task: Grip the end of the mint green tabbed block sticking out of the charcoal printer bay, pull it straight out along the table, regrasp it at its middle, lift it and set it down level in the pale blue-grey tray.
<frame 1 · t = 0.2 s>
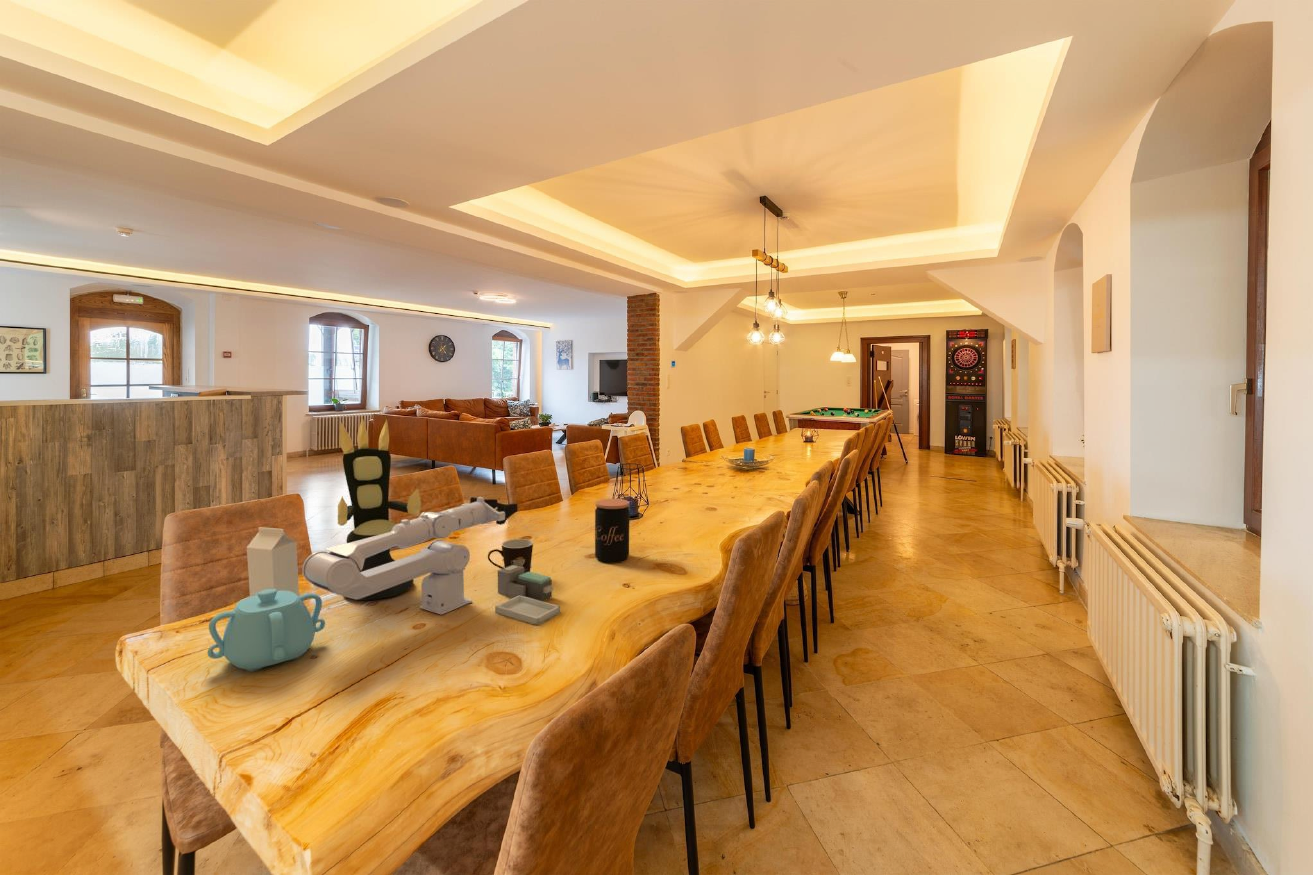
hand: (506, 505, 153), 21 cm above the table, tool horizontal, fingers open, 7 cm apart
printer bay: (524, 593, 146), on the table
coffee mug: (512, 578, 158), on the table
decorative pot: (271, 657, 112), on the table
black throne chair: (375, 588, 148), on the table
coffee jar: (612, 559, 176), on the table
milk carton: (275, 604, 137), on the table
tray: (527, 612, 134), on the table
mint green tabbed block: (534, 596, 144), on the table
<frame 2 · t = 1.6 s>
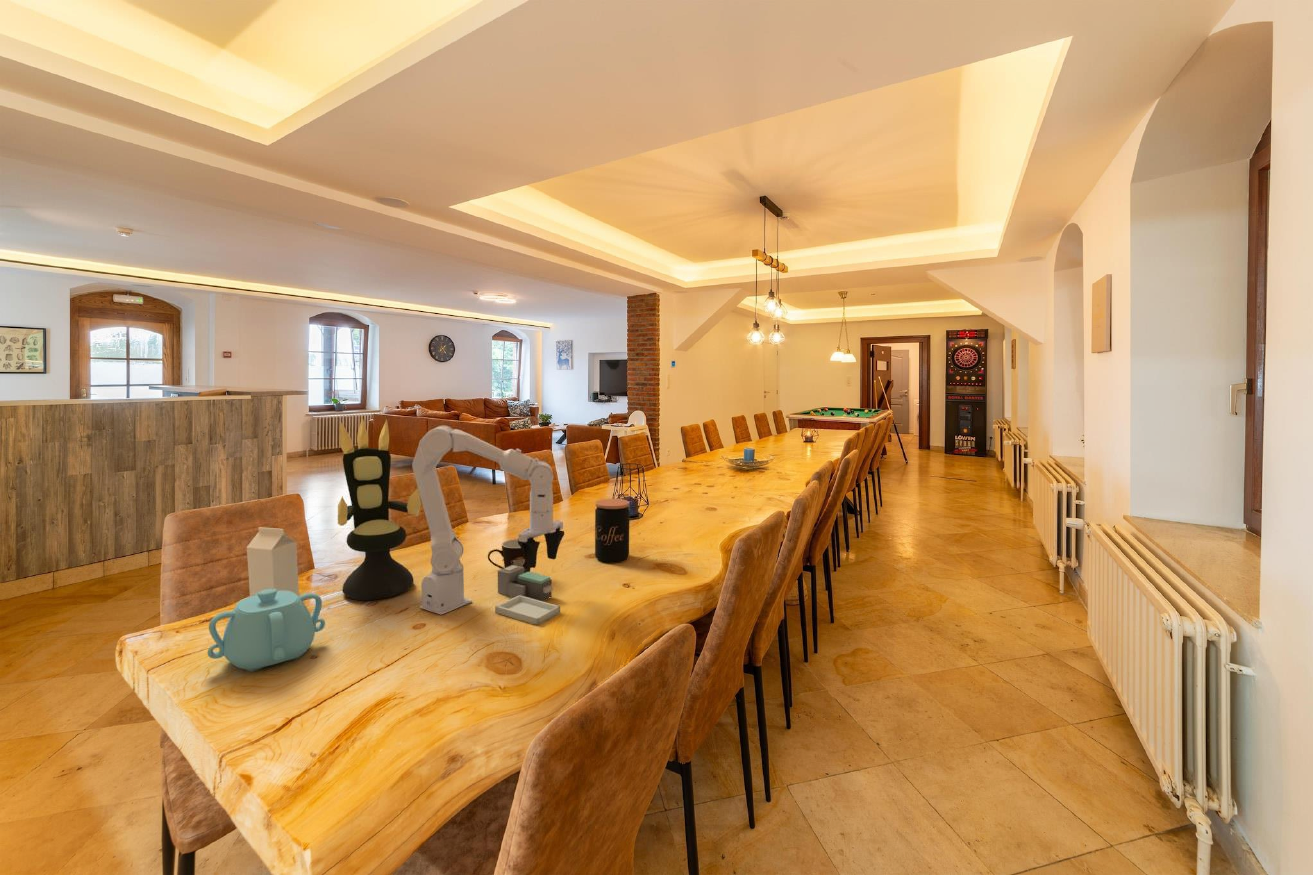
hand: (541, 562, 142), 9 cm above the table, tool pointing down, fingers open, 7 cm apart
nothing on the table moved.
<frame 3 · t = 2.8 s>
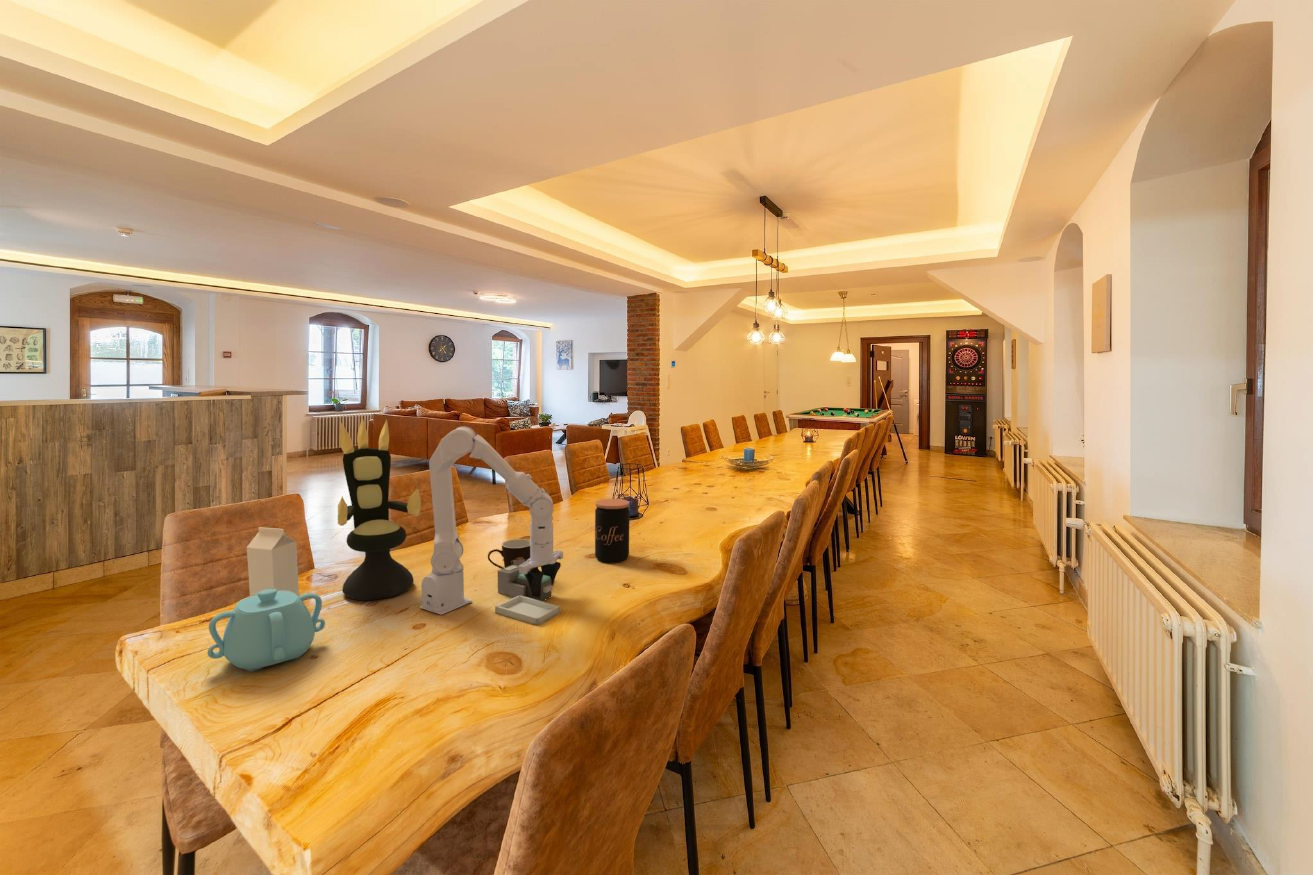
hand: (542, 593, 143), 1 cm above the table, tool pointing down, fingers closed on mint green tabbed block, 4 cm apart
mint green tabbed block: (534, 596, 144), on the table, touching gripper
everything else where it was.
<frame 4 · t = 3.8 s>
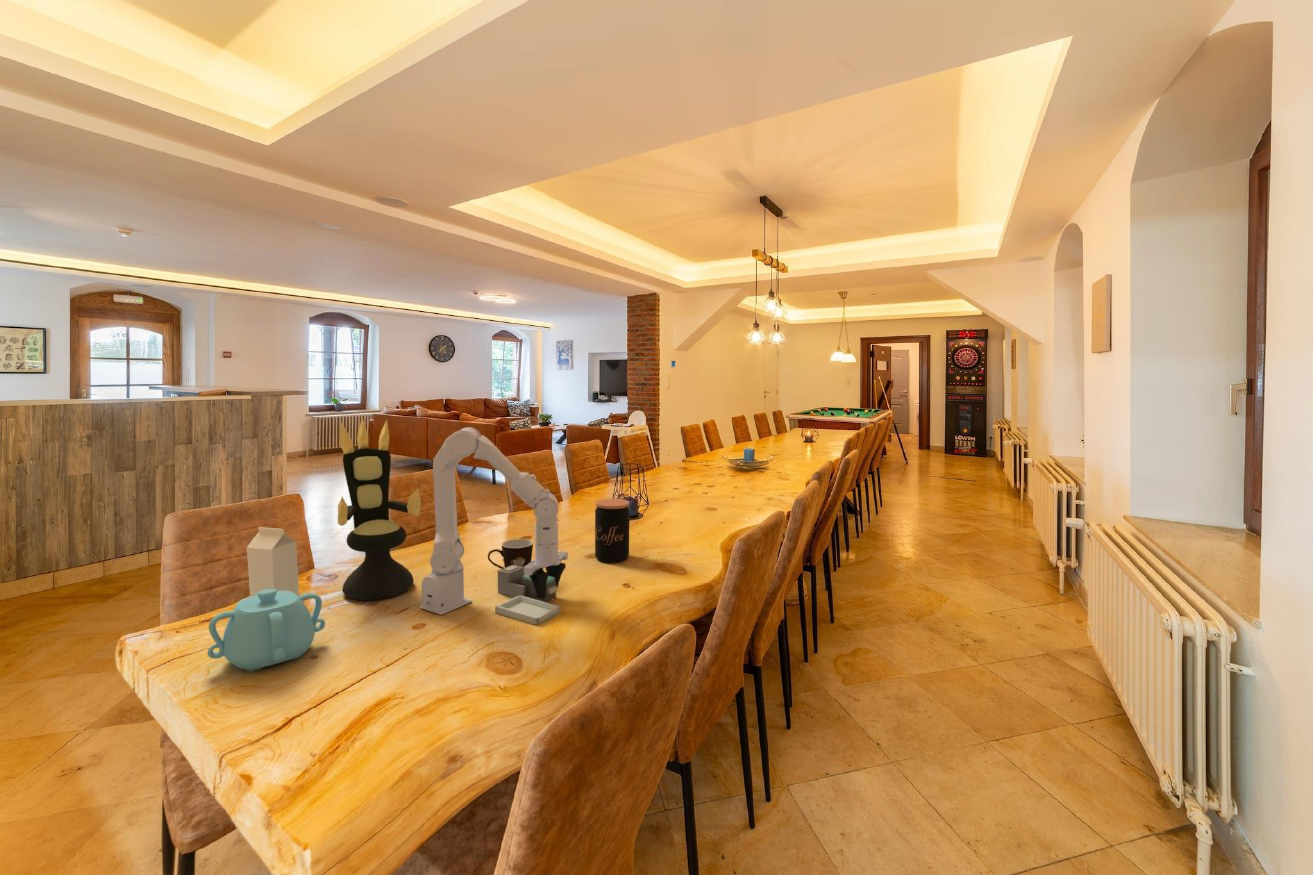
hand: (546, 594, 142), 1 cm above the table, tool pointing down, fingers closed on mint green tabbed block, 4 cm apart
mint green tabbed block: (538, 597, 144), on the table, touching gripper
everything else where it was.
when the fingers open (1 cm above the table, at t = 4.9 s): mint green tabbed block stays where it is, on the table.
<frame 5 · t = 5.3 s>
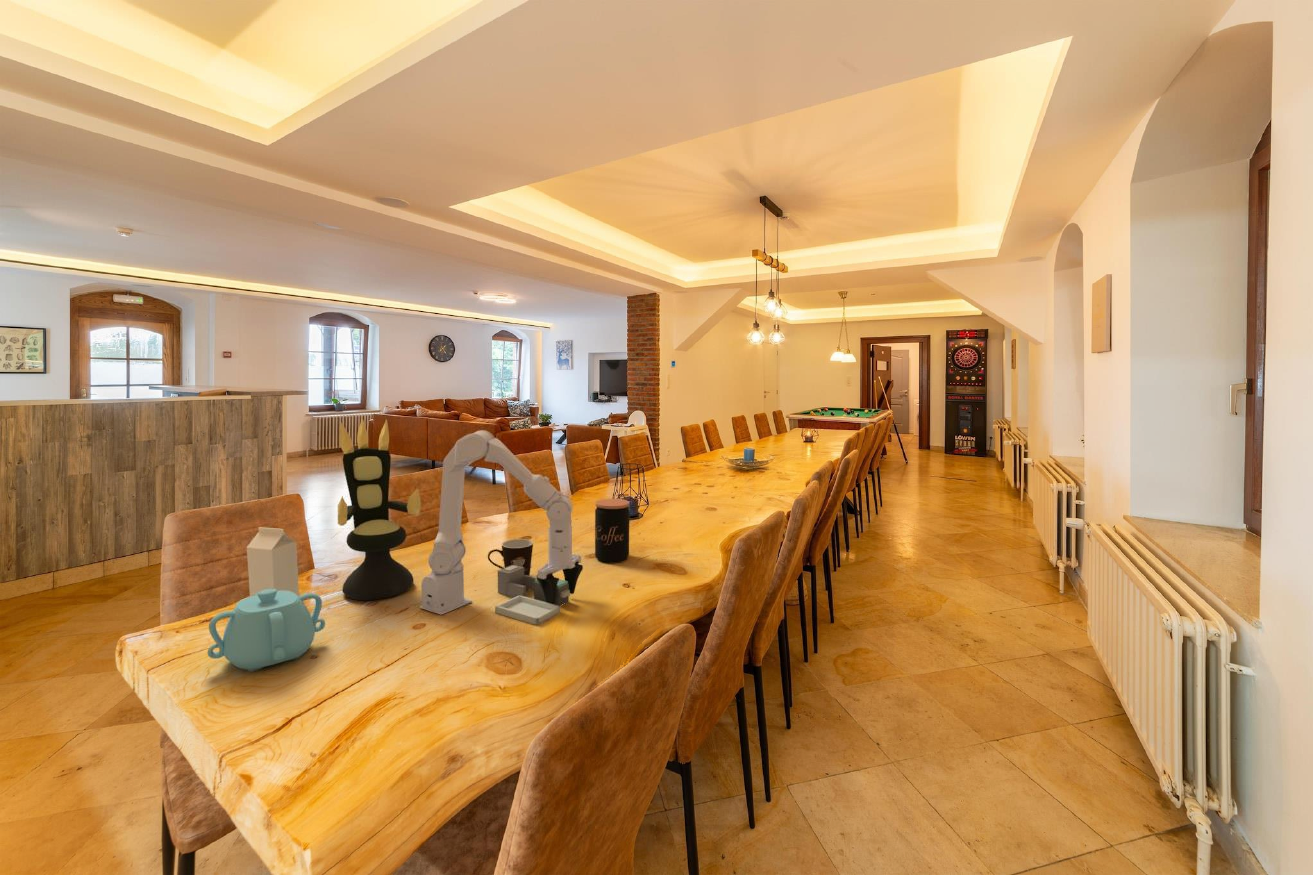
hand: (560, 597, 140), 1 cm above the table, tool pointing down, fingers open, 7 cm apart
mint green tabbed block: (551, 601, 142), on the table
everything else where it was.
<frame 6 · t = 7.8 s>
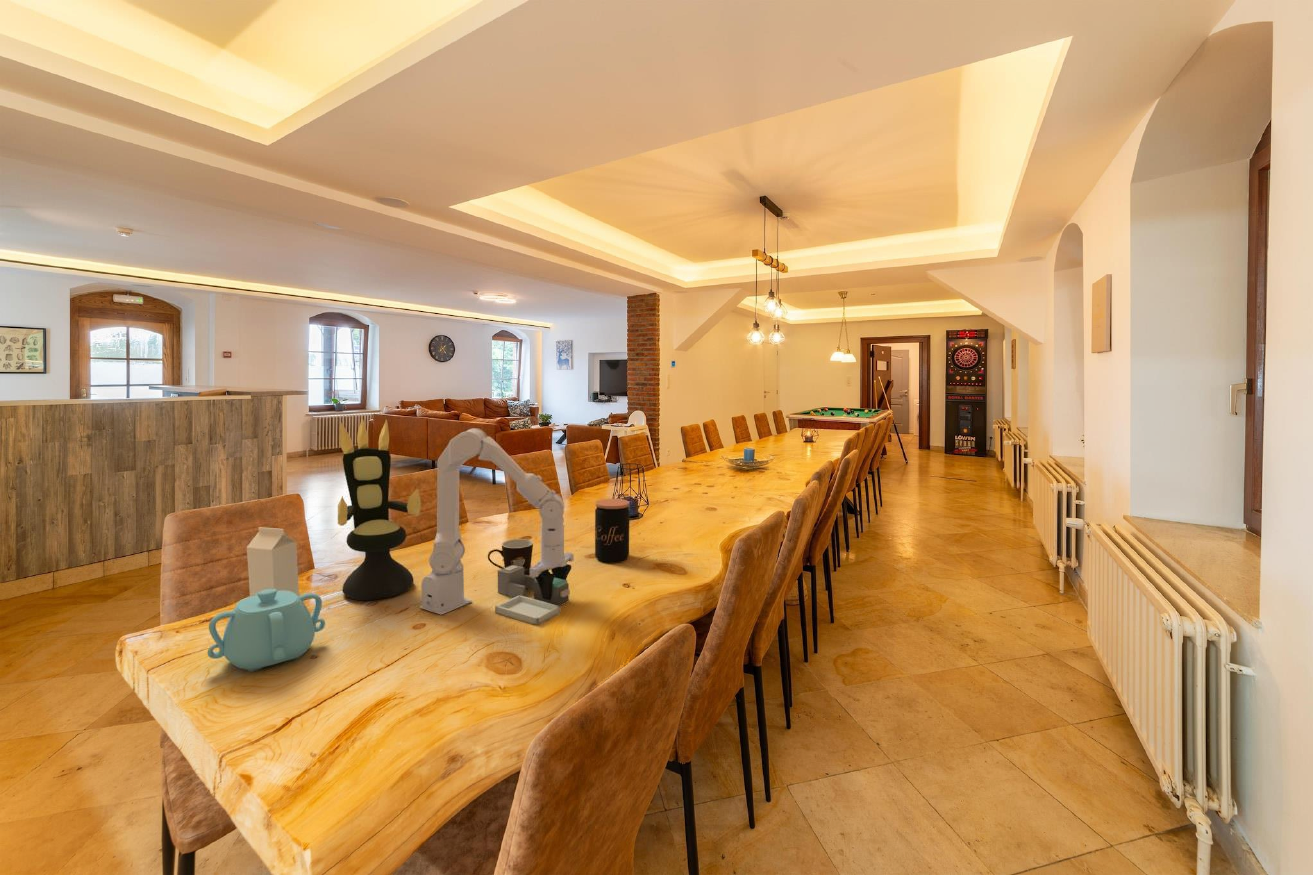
hand: (552, 595, 141), 1 cm above the table, tool pointing down, fingers closed on mint green tabbed block, 4 cm apart
mint green tabbed block: (551, 600, 142), on the table, touching gripper
everything else where it was.
when the fingers open (3 cm above the table, at t = 10.8 s): mint green tabbed block stays where it is, resting on tray.
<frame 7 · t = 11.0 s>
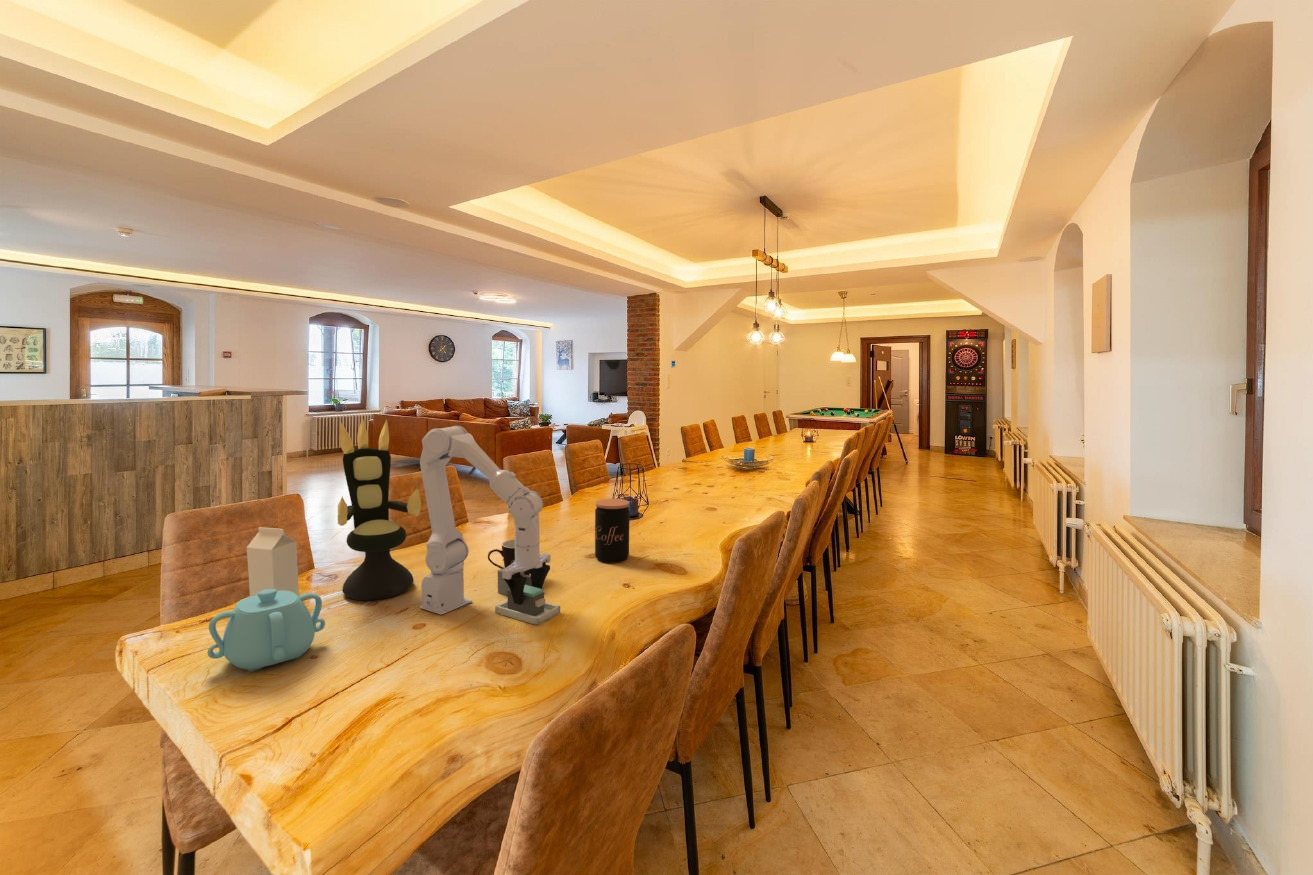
hand: (527, 599, 134), 3 cm above the table, tool pointing down, fingers open, 6 cm apart
mint green tabbed block: (526, 610, 135), resting on tray
everything else where it was.
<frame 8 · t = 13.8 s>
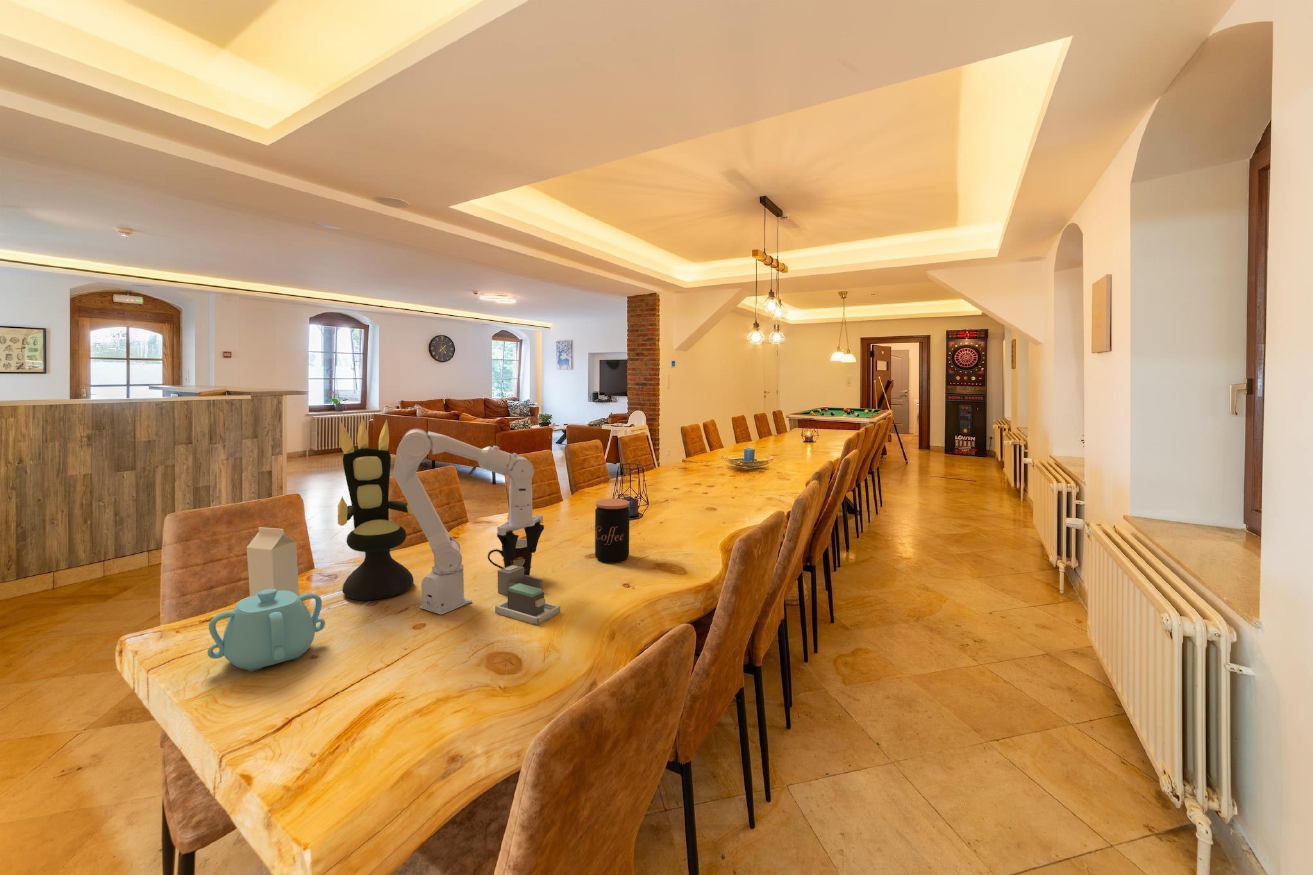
hand: (521, 555, 144), 10 cm above the table, tool pointing down, fingers open, 7 cm apart
nothing on the table moved.
at the end: mint green tabbed block inside the target area on the tray (0.6 cm from its centre), point 0.4 cm above the tray's base; mint green tabbed block tilted 0°; the gripper is holding nothing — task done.
